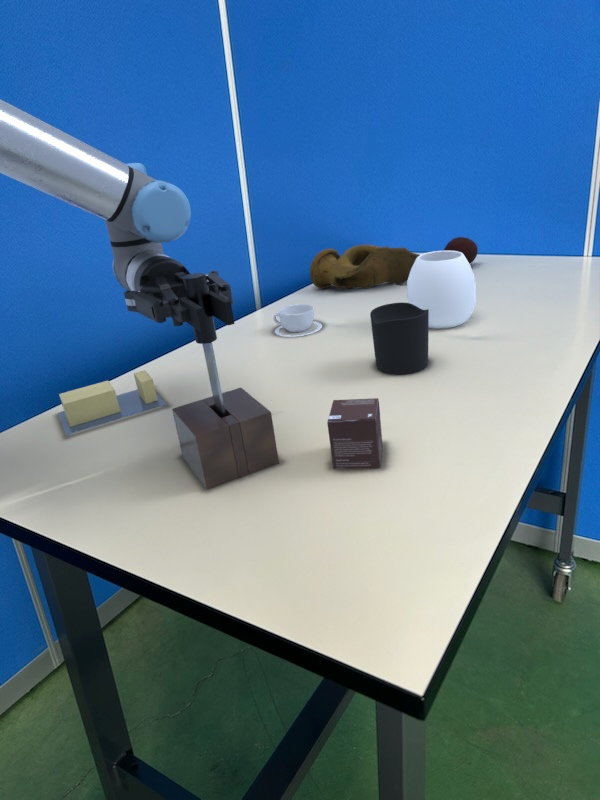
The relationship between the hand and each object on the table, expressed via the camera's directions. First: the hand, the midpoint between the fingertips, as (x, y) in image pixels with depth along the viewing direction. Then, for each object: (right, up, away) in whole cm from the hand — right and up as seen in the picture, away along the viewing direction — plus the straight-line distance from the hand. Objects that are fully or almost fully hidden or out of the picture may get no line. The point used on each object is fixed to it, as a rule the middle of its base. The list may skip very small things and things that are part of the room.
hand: (215, 316), depth 70 cm
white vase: (+38, +6, +54) cm, 66 cm away
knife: (-1, -13, +11) cm, 17 cm away
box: (+17, -17, +11) cm, 26 cm away
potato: (+51, +25, +91) cm, 107 cm away
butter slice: (-16, -9, +35) cm, 40 cm away
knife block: (0, -18, +14) cm, 22 cm away
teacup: (+9, +5, +60) cm, 61 cm away
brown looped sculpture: (+26, +18, +84) cm, 90 cm away
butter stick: (-24, -12, +32) cm, 41 cm away
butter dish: (-22, -12, +33) cm, 41 cm away
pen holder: (+27, -4, +36) cm, 45 cm away
